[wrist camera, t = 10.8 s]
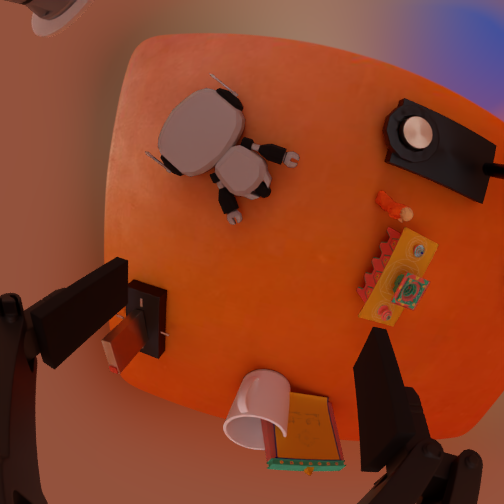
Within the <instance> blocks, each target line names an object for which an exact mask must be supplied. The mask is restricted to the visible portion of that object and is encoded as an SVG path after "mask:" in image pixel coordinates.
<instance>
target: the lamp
mask: <svg viewBox="0 0 504 504" xmlns="http://www.w3.org/2000/svg"><path fill="white" fill-rule="evenodd" d="M482 170H483V173H484V174H485V175H486V176H490V177H495V178H499V179H504V164H496V163H487V162H486V163H484V164H483V167H482Z"/></svg>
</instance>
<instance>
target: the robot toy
mask: <svg viewBox="0 0 504 504" xmlns="http://www.w3.org/2000/svg"><path fill="white" fill-rule="evenodd" d="M209 74H210V73H209ZM210 76H211V77H213V78H214V79H216V80H217V81H218V82H220V83H221V84H222V85H223V86H225V87H226V88H227V89H228V90H230V91H231V92H232V93H231V92H230V91H228V90H225V89H221V88H219V89H217V90H213V89H208V88H205V89H201V90H198V91H196V92H194V93H192V94H191V95H189V96H188V97H187V98H185V99H184V100H183V101H182V102H181V103H180V104H179V105H177V106H176V107H175V108H174V109H173V110H172V112H171V113H170V115H169V117H168V118H167V120H166V122H165V123H164V125H163V127H162V130H161V132H160V135H159V139H158V148H159V150H160V153H161V154H162V155H161V160H162V161H163V163H164V164H163V163H161V162H160V161H159V160H157V159H156V158H155V157H153V156H152V155H151V154H150V153H149V152H146V151H145V153H146V155H148V156H150V157H151V158H152V159H154V160H155V161H156V162H158V163H159V164H160V165H161V166H163V167H164V168H165V169H167V170H166V171H168V172H169V173H171V172H172V173H174V174H176V175H179V176H182V175H187V176H190V177H191V176H196V175H200V174H202V173H205V172H207V171H209V170H210V169H212V168H213V167H215V173H212V174H210V177H211V179H212V181H213V183H217V185H218V188H219V199H218V201H219V203H220V206H221V208H222V210H223V213H224V214H226V213H227V220H228V221H229V223H230V224H232V225H234V224H236V222H235V220H234V217H236V220H237V222H238V223H240V222H241V221H242V214H241V213H240V212H239V211H238V210H236V209H238V208H239V206H238V204H237V201H236V199H235V197H234V195H237V196H244V197H246V198H248V199H251V200H253V199H256V198H259V197H260V196H261V197H263V198H266V197H268V196H269V195H270V193H271V189H270V187H269V186H270V183H271V180H272V177H271V175H270V173H269V171H268V165H267V163H266V161H265V159H266V160H269V161H272V162H275V163H278V164H280V165H281V163H282V161H283V163H284V164H285V165H286V166H287V167H291V168H294V167H296V166H297V164H298V163H294V162H291V161H290V160H291V157H292V158H294V159H296V160H298V161H299V155H298V154H297V153H295V152H294V151H293V152H286V149H285V148H283V147H280V146H277V145H274V144H266V145H258V144H255V143H254V142H253V140H252V139H249V138H246V137H244V138H243V139H242V142H241V145H239V146H235V145H236V144H237V142H238V141H239V139H240V137H241V135H242V133H243V130H244V126H245V118H244V115H243V113H242V110H243V106H242V104H241V102H240V100H239V99H238V98H237V96H238V94H237V93H236V92H235V91H234V92H233V91H232V90H231V89H230V88H229V87H227V86H226V85H225V84H224V83H222V82H221V81H220V80H219V79H217V78H216V77H215V76H214V75H213V74H210ZM253 150H255V151H258V152H259V153H260V154H261V155H262V156H263V157H264V158H265V159H264V158H263V157H261V156H260V155H259V154H257V153H256V152H255V151H253ZM285 152H286V153H285ZM263 180H264V181H265V182H263Z"/></svg>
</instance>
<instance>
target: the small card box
mask: <svg viewBox="0 0 504 504" xmlns="http://www.w3.org/2000/svg"><path fill="white" fill-rule="evenodd" d="M148 340H149V339H148V334H147V329H146V324H145V319H144V313H143V311H142V310H137V309H134V310H133V311H132V312H131V313H130V314H129V315H128V316H127V317H126V318H124V319H123V320H122V321H121V322H120V323H119V324H118V325H117V326H116V327H115V328H114V329H113V330H112V331H111V332H110V333H108V334H107V335H106V336H105V337H104V339H102V344H103V347H104V351H105V354H106V357H107V360H108V363H109V368H110V371H111V372H113V373H116V374H120V373H121V372H122V371H123V370H124V369H125V367H126V366H127V365H128V364H129V363H130V361H131V360H132V359H133V358H134V357H135V356H136V354H137V353H138V352H139V351H140V350H141V349H142V347H143V346H144V345H145V344H146V343H147V341H148Z"/></svg>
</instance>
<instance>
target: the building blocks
mask: <svg viewBox="0 0 504 504" xmlns="http://www.w3.org/2000/svg"><path fill="white" fill-rule="evenodd" d="M375 201H376V204H379V206H380V207H381V208H382V209H383V210H384V211H387V212H389V214H388V215H389V216H390V217H391V218H394V219H398V220H399V221H400V222H401V223H402V222H403V220H404V221H406V222H407V221H409V220H411V219H412V218H413V212H412V210H411V208H409V207H407V206H405V205H404V204H398V203H396V202H394V201H393V200H392V198H391V197H389V196H388V195H387V194H386V192H385V191H382V190H381V191H380V192H378V196H377V198H376V200H375ZM402 219H403V220H402ZM387 233H388V235H389V237H390V238H389V240H388V242H381V243H380V245H379V247H380V250H381V252H382V254H381V256H380V258H376V257H374V258H373V260H372V265H373V267H374V270H373V272H372V274H371V273H368V272H366V273H365V275H364V279H365V283H366V285H365V287H364V288H361V287H358V288H357V290H356V291H357V292H358V294H359V295H360V297H361V298H362V300H363V301H364V303H365V304H364V306H363V308H362V310H361V311H360V313H359V315H358V317H360V318H364V319H367V320H371V321H375V322H378V323H382V324H386V325H390V326H394V324H395V323H396V321H397V319H398V318H399V316H400V315H401V313H402V311H403V310H404V308H408V309H411V310H414V309H415V308H416V306H417V304H418V303H419V301H420V299H421V298H422V296H423V294H424V292H425V291H426V289H427V287H428V285H429V283H430V281H428V280H425V279H423V278H422V276H423V275H424V273H425V271H426V269H427V267H428V265H429V263H430V261H431V259H432V257H433V255H434V253H435V251H436V249H437V247H438V245H439V244H437V243H435V242H433V241H431V240H429V239H428V238H426V237H424V236H422V235H420V234H418V233H416V232H414V231H412V230H410V229H409V228H407V227H405V228H404V229H403V232H402V234H401V233H399V232H397V231H396V230H394V229H392V228H390V227H388V229H387ZM289 393H290V401H289V415H288V426H287V436H286V437H284V436H283V433H282V431H281V430H280V428H279V427H277V426H276V425H275V424H273V423H271V422H269V421H267V420H264V419H261V418H260V419H261V426H262V432H263V439H264V446H265V452H266V459H267V464H269V467H268V469H275V470H292V471H293V470H294V471H304V472H305V473H306V474H308V475H311V474H312V472H313V471H340V470H341V469H342V468H344V467H345V466H346V465H344V463H343V462H344V461H345V460H344V458H343V453H342V448H341V444H340V439H339V435H338V430H337V426H336V421H335V417H334V412H333V408H332V404H331V403H330V402H328V398H327V397H320V396H313V395H306V394H300V393H294V392H289Z"/></svg>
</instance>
